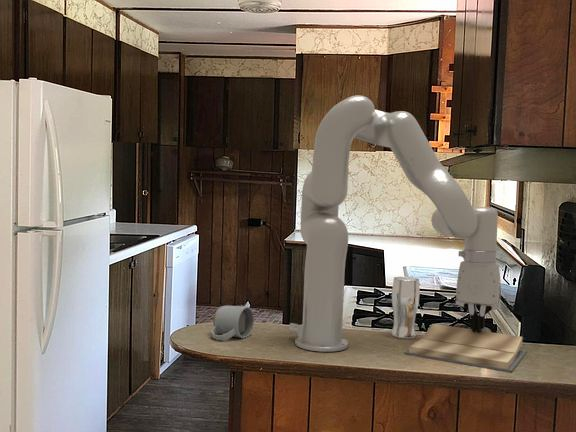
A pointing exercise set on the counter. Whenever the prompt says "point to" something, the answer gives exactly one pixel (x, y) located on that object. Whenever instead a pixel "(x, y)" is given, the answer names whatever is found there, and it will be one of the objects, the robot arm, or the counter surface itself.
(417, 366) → the counter surface
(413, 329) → the beer glass
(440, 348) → the board
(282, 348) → the counter surface
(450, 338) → the loose plank
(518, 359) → the underlay mat
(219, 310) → the ceramic mug
